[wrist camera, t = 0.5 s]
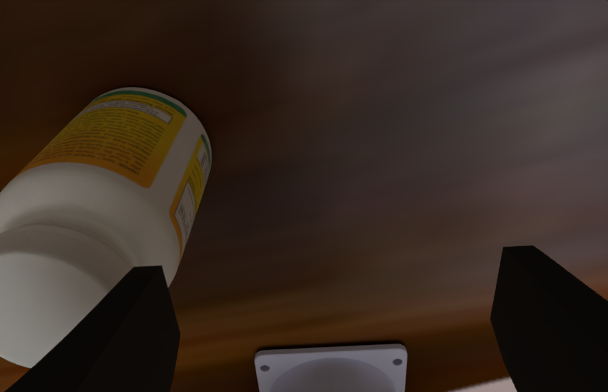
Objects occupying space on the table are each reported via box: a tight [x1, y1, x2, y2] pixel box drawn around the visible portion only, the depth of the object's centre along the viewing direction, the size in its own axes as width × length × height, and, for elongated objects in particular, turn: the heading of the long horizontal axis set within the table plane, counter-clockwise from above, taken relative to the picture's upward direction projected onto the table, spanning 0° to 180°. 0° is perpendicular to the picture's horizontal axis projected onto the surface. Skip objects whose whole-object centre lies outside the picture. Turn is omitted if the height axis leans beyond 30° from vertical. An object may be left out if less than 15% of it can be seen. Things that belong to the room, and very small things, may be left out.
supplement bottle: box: [0, 87, 212, 368], centre depth 16 cm, size 5×5×10 cm
